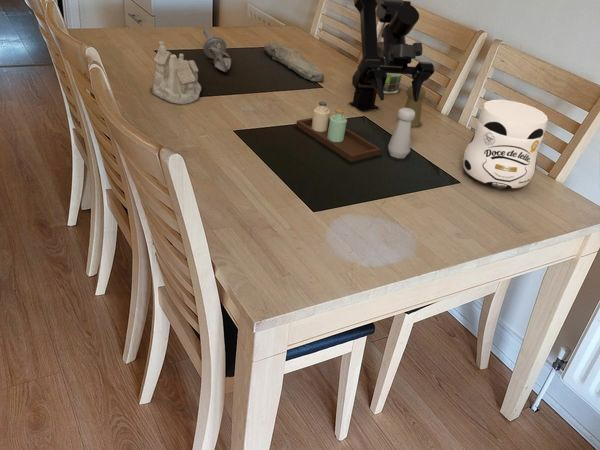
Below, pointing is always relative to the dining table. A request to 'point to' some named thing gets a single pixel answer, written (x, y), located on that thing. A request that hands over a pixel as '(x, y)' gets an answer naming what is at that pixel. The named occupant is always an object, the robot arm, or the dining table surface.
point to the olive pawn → (415, 105)
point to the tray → (348, 148)
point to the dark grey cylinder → (389, 75)
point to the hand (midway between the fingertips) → (399, 100)
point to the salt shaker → (402, 134)
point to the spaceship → (216, 50)
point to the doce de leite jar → (505, 144)
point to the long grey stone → (294, 61)
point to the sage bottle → (337, 126)
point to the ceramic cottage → (175, 77)
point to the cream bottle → (320, 117)
